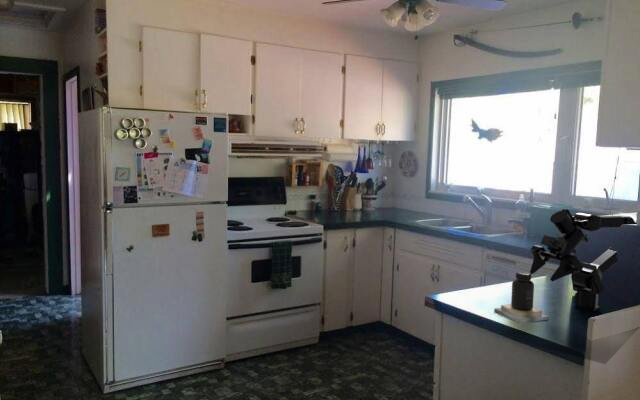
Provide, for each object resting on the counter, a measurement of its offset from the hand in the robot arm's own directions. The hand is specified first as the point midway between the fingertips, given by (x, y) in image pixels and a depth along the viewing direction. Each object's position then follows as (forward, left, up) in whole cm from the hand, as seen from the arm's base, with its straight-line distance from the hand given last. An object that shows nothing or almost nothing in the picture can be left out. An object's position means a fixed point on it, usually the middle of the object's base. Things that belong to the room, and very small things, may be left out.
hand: (540, 276), depth 174 cm
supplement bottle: (+3, +7, -10) cm, 13 cm away
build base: (+3, +7, -13) cm, 15 cm away
